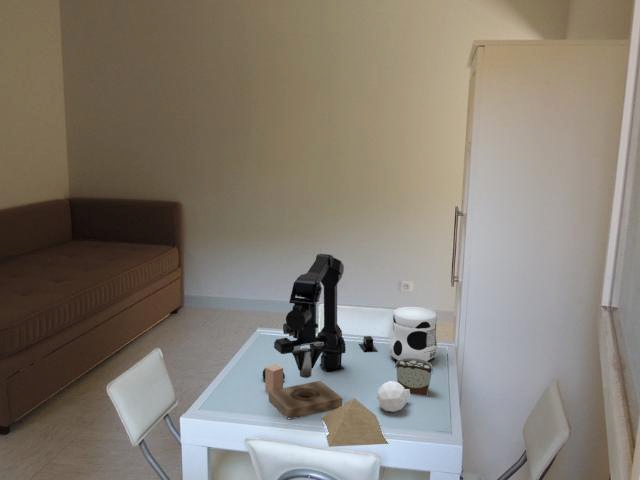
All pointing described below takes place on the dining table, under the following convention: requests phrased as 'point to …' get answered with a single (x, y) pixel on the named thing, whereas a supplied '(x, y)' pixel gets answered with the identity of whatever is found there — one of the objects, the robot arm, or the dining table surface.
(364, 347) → the black stepped block
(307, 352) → the round dowel
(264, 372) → the tape measure
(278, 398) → the bore block
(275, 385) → the square bar
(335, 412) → the model pyramid
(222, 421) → the dining table surface
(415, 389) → the food container
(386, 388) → the perfume bottle
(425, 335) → the milk container
